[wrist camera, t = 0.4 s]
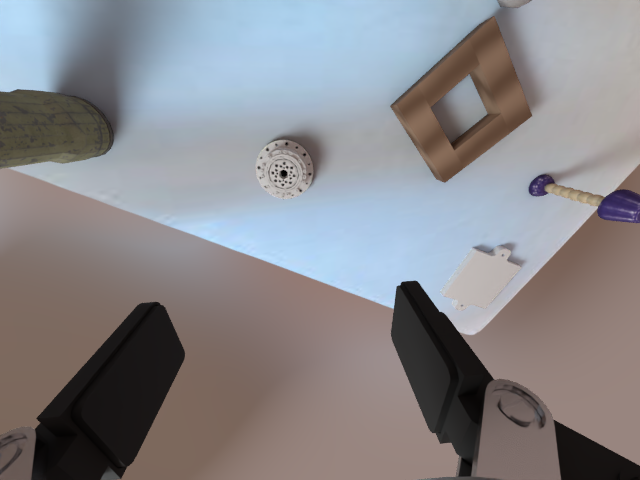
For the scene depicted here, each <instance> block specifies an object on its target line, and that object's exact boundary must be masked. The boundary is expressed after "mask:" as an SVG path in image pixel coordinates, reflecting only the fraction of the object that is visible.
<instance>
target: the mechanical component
mask: <svg viewBox="0 0 640 480" xmlns="http://www.w3.org/2000/svg"><path fill="white" fill-rule="evenodd" d="M286 142H288V145H286V144H285V143H286ZM276 143H277V144H278V145H277V146H276ZM296 146H298V148H296ZM266 148H269V151H268V150H267V149H266ZM303 153H306V155H305V156H304V155H303ZM261 156H262V158H261ZM275 160H276V161H275ZM283 162H285V163H286V164H284V163H283ZM308 163H310V164H308ZM276 164H278V166H276ZM280 165H282V167H281V166H280ZM258 166H260V167H261V168H259V167H258ZM270 166H271V167H270ZM292 166H293V168H291V167H292ZM282 170H286V171H287V173H288V174H283V173H282V172H281V171H282ZM290 171H292V172H290ZM280 172H281V174H282V175H284V176H285V175H287V176H286V177H283V176H281V174H280ZM309 173H311V175H309ZM256 174H257V178H258V180H259V182H260V184H261V186H262V187H263V188H264V189H265V190H266V191H267V192H268V193H269V194H271V195H273V196H275V197H278V198H282V199H291V198H294V197H297V196H299V195H301V194H302V193H303V192H305V191H306V190H307V188H308V187H309V185H310V184H311V181H312V177H313V164H312V161H311V158H310V156H309V154H308V153H307V152H306V150H305V149H304V148H303V147H302V146H300V145H299V144H298V143H296V142H293V141H290V140H277V141H274V142H271V143H269V144H268V145H267V146H265V147H264V148H263V149H262V151H261V152H260V154H259V155H258V158H257V161H256ZM293 174H295V175H293ZM290 177H292V178H290ZM300 189H302V191H300Z"/></svg>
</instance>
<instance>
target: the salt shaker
mask: <svg viewBox="0 0 640 480" xmlns="http://www.w3.org/2000/svg"><path fill="white" fill-rule="evenodd" d="M497 1H498V3H499V5H500V7H511V8H518V7H520V6H522V5H525V4H527V3H529V2H530V1H531V0H497Z"/></svg>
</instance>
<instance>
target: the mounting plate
mask: <svg viewBox="0 0 640 480" xmlns="http://www.w3.org/2000/svg"><path fill="white" fill-rule="evenodd" d="M510 254H511V251H510V250H508V249H507V248H505V247H503V246H496V247H495V248H494V249H493V250H492V251H491V252H489V253H487V252H484V251H481V250H478V249H476V248H473V247H472V249H471V250H470V251H469V253H468V254H467V256H466V257H465V258H464V260H463V261H462V262H461V264H460V265H459V266H458V268H457V269H456V270H455V272H454V273H453V274H452V276H451V277H450V279H449V280H448V281H447V283H446V284H445V285H444V287H443V288H442V289H441V291H440V293H441V294H442V295H443V296H445V297H448V298H452V299H454V300H453V302H452V305H453V306H454V307H455V308H456V309H457V310H460V311H462V310H465V309H466V308H467V307H468V306H469V305H475V306H478V307H481V308H485V309H486V308H487V306H488V305H489V304H490V303H491V302H492V301H493V300H494V298H495V297H496V296H497V295H498V294H499V293H500V292H501V290H502V289H503V288H504V287H505V286H506V285H507V284H508V282H509V281H510V280H511V279H512V278H513V277H514V276H515V274H516V273H517V272H518V271H519V270H520V269H521V266H519V265H518V264H516V263H514V262H511V261H508V260H507V259H508V257H509V256H510Z"/></svg>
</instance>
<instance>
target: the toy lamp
mask: <svg viewBox="0 0 640 480" xmlns="http://www.w3.org/2000/svg"><path fill="white" fill-rule="evenodd" d="M529 193H530V194H531V195H533V196H544V195H546V194H548V193H553V194H555V195H558V196H562V197H564V198H570V199H571V200H574V201H579V202H581V203H588V204H589V205H592V206H598V210H597V212H598V216H599V217H600V218H602V219H605V220H612V221H622V222H633V223H640V195H639V194H637V193H635V192H632V191H629V190H617V191H614V192H612V193H610V194H609V195H607V196H606V197H603V196H601V195H593V194H592V193H588V192H583V191H581V190H574V189H573V188H566V187H564V186H560V185H559V186H558V185H557V184H555V182H554V179H553V178H552V177H550V176H548V175H540V176H538V177H536V178H535V179H534V180H533V181H532V182H531V184H530V186H529Z"/></svg>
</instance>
